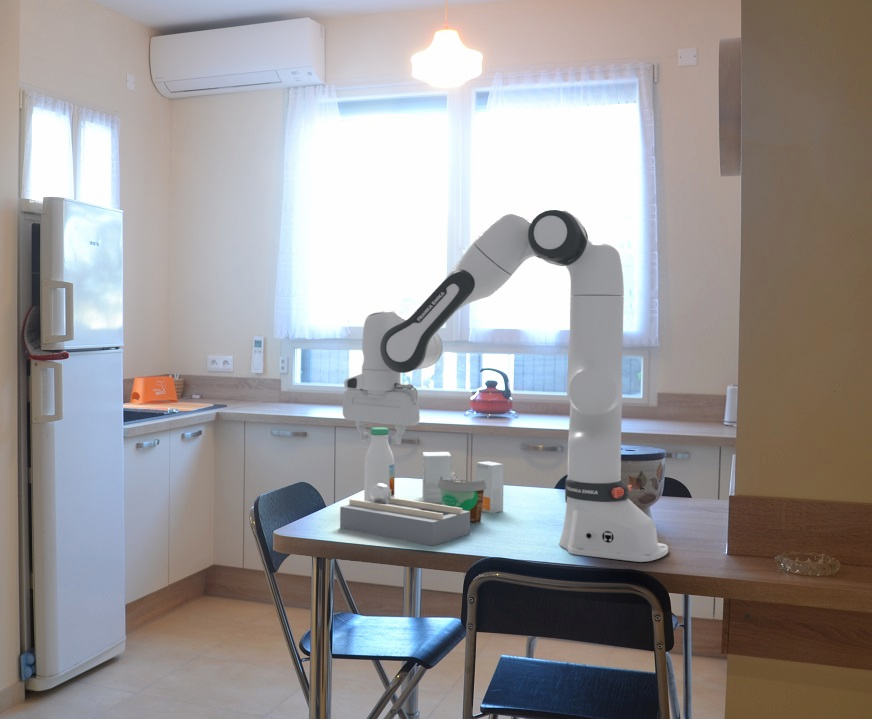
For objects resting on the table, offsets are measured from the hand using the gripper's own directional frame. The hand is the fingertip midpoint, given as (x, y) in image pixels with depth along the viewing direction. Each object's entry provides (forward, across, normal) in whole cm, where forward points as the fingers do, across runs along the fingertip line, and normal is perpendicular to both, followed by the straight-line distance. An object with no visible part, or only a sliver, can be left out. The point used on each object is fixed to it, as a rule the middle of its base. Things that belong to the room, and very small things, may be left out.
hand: (380, 442), depth 198 cm
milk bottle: (+20, +16, -19) cm, 32 cm away
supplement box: (+20, +8, -33) cm, 39 cm away
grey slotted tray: (+19, -7, 0) cm, 21 cm away
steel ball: (+12, 0, 0) cm, 12 cm away
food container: (+19, -11, -15) cm, 27 cm away
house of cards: (+20, +18, -54) cm, 60 cm away
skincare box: (+19, -10, -31) cm, 38 cm away
